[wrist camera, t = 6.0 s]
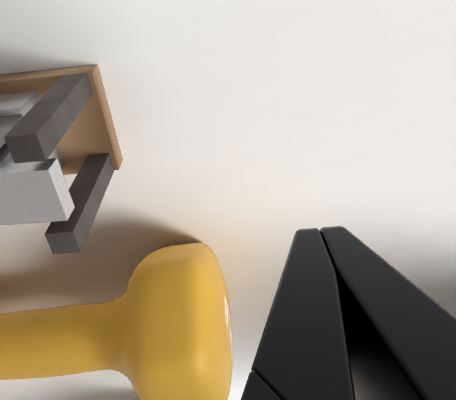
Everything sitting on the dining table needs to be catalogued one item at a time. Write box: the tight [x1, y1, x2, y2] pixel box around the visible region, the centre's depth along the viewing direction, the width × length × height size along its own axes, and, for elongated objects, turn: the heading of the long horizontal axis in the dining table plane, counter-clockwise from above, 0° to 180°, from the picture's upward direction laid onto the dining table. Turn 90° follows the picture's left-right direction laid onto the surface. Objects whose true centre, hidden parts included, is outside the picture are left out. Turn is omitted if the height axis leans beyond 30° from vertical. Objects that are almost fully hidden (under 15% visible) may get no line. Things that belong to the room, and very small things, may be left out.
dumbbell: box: [0, 243, 233, 400], centre depth 23 cm, size 19×9×8 cm, turn 97°
